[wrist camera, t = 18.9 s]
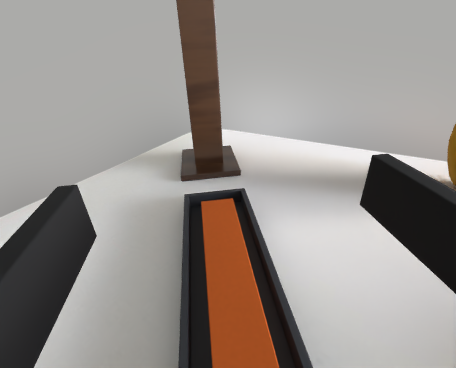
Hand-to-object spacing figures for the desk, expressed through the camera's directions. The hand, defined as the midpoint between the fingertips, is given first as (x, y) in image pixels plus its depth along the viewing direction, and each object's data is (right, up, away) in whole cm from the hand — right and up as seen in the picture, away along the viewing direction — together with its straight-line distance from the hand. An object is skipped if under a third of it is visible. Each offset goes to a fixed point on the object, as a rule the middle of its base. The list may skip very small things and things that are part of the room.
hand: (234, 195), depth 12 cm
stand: (-4, +4, +36) cm, 37 cm away
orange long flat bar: (0, -9, +11) cm, 14 cm away
